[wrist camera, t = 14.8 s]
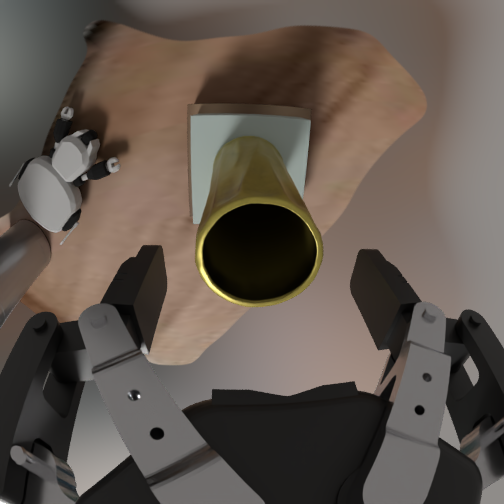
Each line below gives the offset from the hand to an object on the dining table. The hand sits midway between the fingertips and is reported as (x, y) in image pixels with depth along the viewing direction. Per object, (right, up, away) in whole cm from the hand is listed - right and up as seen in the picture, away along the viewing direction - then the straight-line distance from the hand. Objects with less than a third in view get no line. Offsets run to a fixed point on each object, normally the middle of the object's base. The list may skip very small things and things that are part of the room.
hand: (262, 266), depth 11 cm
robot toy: (-24, +11, +19) cm, 33 cm away
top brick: (-1, +9, +16) cm, 18 cm away
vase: (-1, +8, +12) cm, 15 cm away
